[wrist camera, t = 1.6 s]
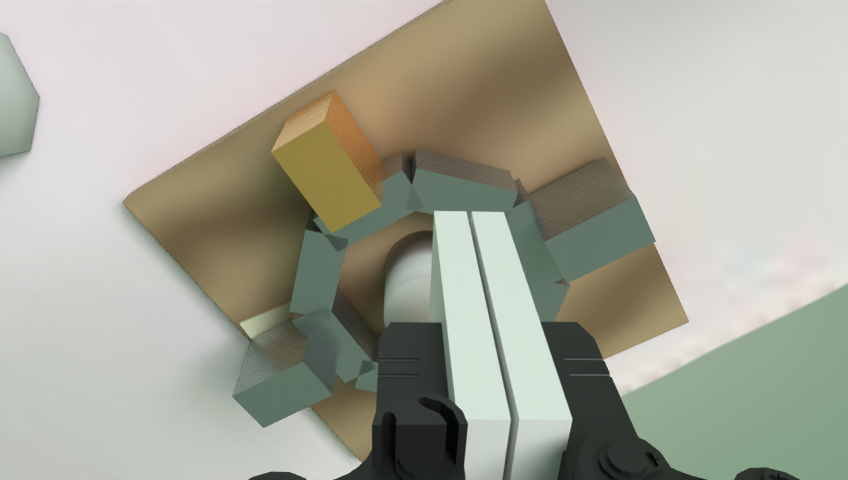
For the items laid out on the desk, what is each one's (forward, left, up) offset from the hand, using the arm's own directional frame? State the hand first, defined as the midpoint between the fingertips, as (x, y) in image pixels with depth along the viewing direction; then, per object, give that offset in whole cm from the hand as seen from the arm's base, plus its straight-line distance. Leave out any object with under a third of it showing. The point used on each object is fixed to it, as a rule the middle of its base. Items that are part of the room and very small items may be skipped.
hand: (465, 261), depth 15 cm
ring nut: (+8, -5, -15) cm, 18 cm away
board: (+8, -5, -16) cm, 19 cm away
